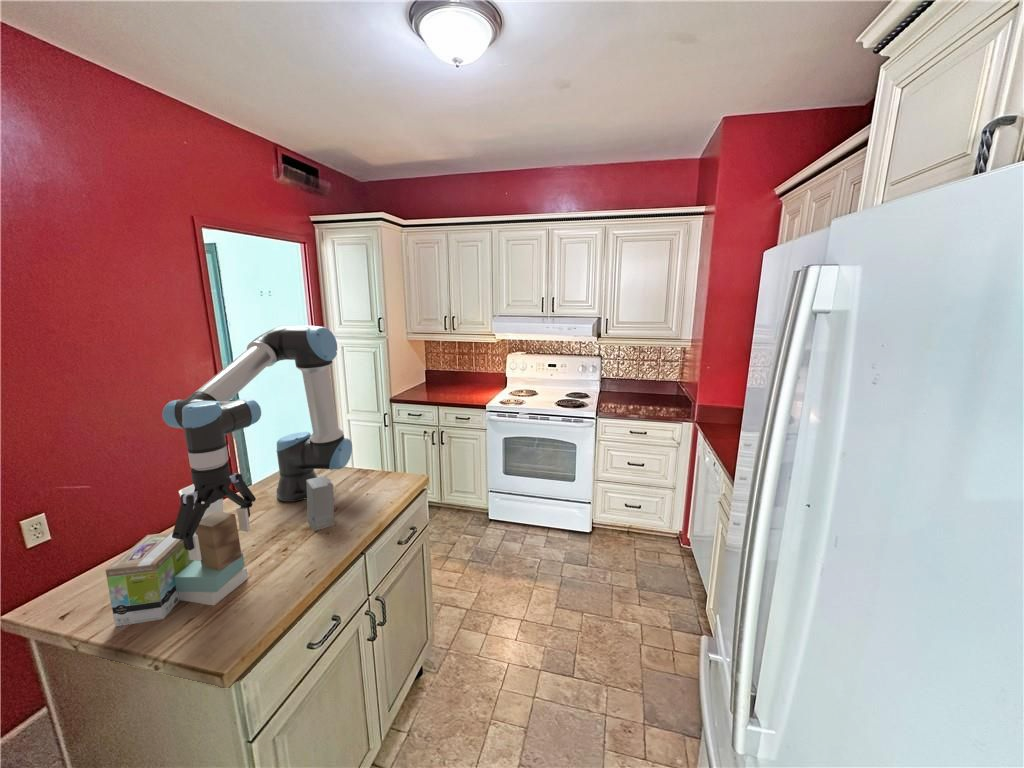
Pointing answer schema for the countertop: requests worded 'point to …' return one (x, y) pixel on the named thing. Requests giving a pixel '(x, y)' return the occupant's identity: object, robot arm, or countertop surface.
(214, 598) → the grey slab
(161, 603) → the tea box
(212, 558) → the walnut block
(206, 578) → the teal slab
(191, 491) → the cup
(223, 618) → the countertop surface
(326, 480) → the skincare box
